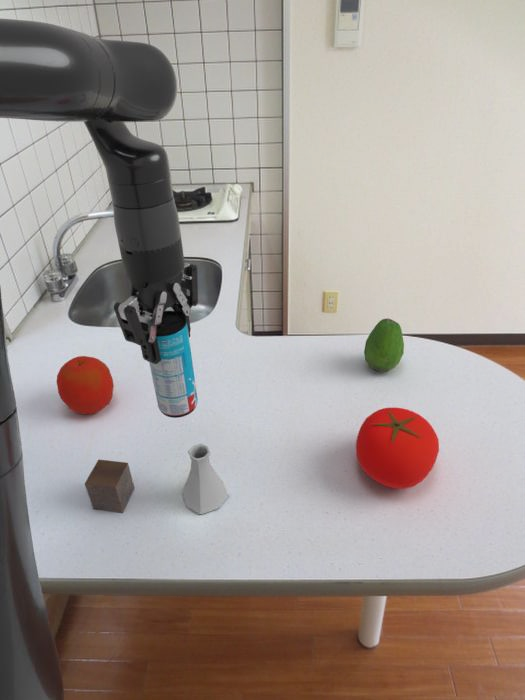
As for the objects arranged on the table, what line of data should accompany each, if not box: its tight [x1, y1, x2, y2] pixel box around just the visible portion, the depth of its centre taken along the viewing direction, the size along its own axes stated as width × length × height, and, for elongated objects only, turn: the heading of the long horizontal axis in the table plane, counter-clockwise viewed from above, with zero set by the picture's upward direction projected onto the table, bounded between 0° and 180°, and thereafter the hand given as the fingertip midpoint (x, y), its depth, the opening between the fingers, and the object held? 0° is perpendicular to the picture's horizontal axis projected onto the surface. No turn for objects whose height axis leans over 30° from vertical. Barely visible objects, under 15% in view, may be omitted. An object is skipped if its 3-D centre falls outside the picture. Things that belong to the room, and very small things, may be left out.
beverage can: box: [145, 310, 199, 419], centre depth 75 cm, size 6×6×15 cm
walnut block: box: [84, 459, 135, 514], centre depth 83 cm, size 5×5×6 cm
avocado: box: [363, 317, 405, 372], centre depth 107 cm, size 8×8×12 cm
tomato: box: [355, 407, 440, 489], centre depth 84 cm, size 14×13×10 cm
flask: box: [181, 443, 230, 515], centre depth 81 cm, size 7×7×10 cm
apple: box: [56, 355, 114, 415], centre depth 100 cm, size 10×10×12 cm
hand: (168, 348), depth 73 cm, fingers closed on beverage can, 6 cm apart
